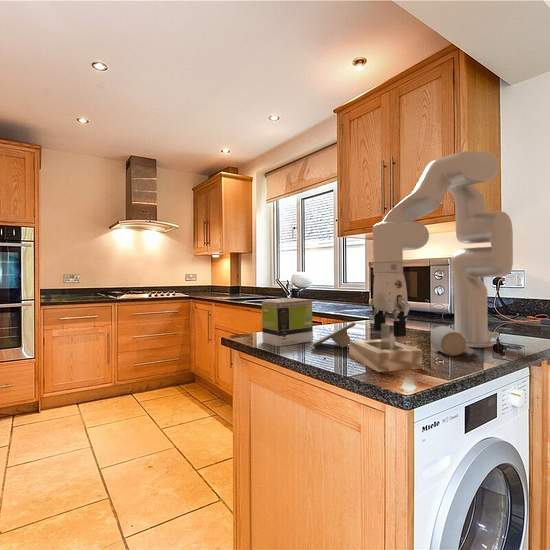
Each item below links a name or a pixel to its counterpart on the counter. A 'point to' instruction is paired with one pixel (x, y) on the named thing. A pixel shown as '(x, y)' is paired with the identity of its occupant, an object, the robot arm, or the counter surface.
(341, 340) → the beige double panel block
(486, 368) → the counter surface
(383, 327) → the wood grain block
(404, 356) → the well block
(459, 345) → the ceramic mug
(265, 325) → the tea box
